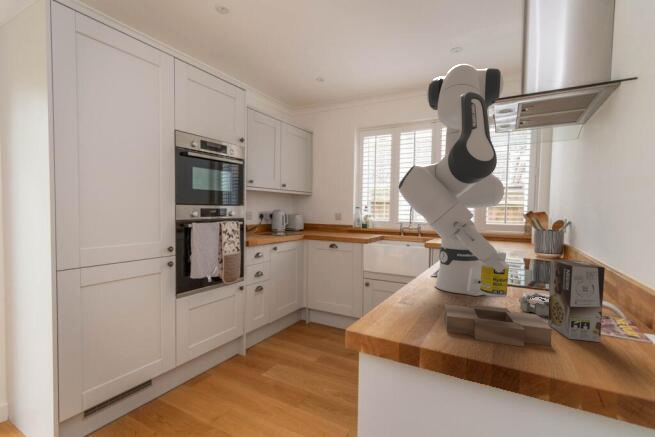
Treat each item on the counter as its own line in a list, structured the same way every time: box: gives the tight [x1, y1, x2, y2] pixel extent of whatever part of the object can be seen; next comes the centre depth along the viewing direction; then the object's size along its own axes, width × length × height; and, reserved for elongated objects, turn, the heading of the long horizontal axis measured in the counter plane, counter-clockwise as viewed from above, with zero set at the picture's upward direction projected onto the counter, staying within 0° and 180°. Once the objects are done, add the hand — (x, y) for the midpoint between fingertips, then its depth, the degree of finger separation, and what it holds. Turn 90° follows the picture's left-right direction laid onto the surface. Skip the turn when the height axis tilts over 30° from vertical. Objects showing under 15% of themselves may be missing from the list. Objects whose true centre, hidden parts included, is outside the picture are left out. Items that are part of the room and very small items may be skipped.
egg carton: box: [518, 292, 549, 317], centre depth 85 cm, size 11×8×4 cm
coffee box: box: [547, 259, 606, 343], centre depth 69 cm, size 9×6×16 cm
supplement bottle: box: [480, 250, 510, 298], centre depth 69 cm, size 5×5×10 cm
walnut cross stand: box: [443, 303, 553, 347], centre depth 70 cm, size 14×20×4 cm
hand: (497, 267), depth 69 cm, fingers closed on supplement bottle, 5 cm apart
